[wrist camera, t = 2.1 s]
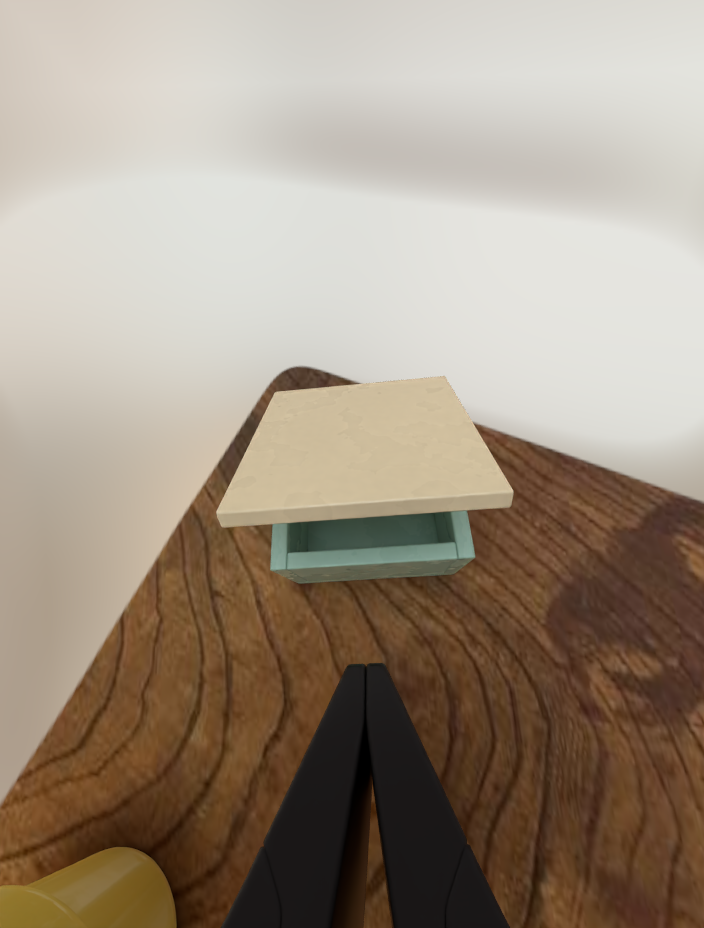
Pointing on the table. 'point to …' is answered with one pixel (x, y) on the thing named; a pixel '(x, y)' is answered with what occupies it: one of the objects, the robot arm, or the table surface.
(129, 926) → the flower pot
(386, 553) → the green boxy piece
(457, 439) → the lid
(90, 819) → the table surface
